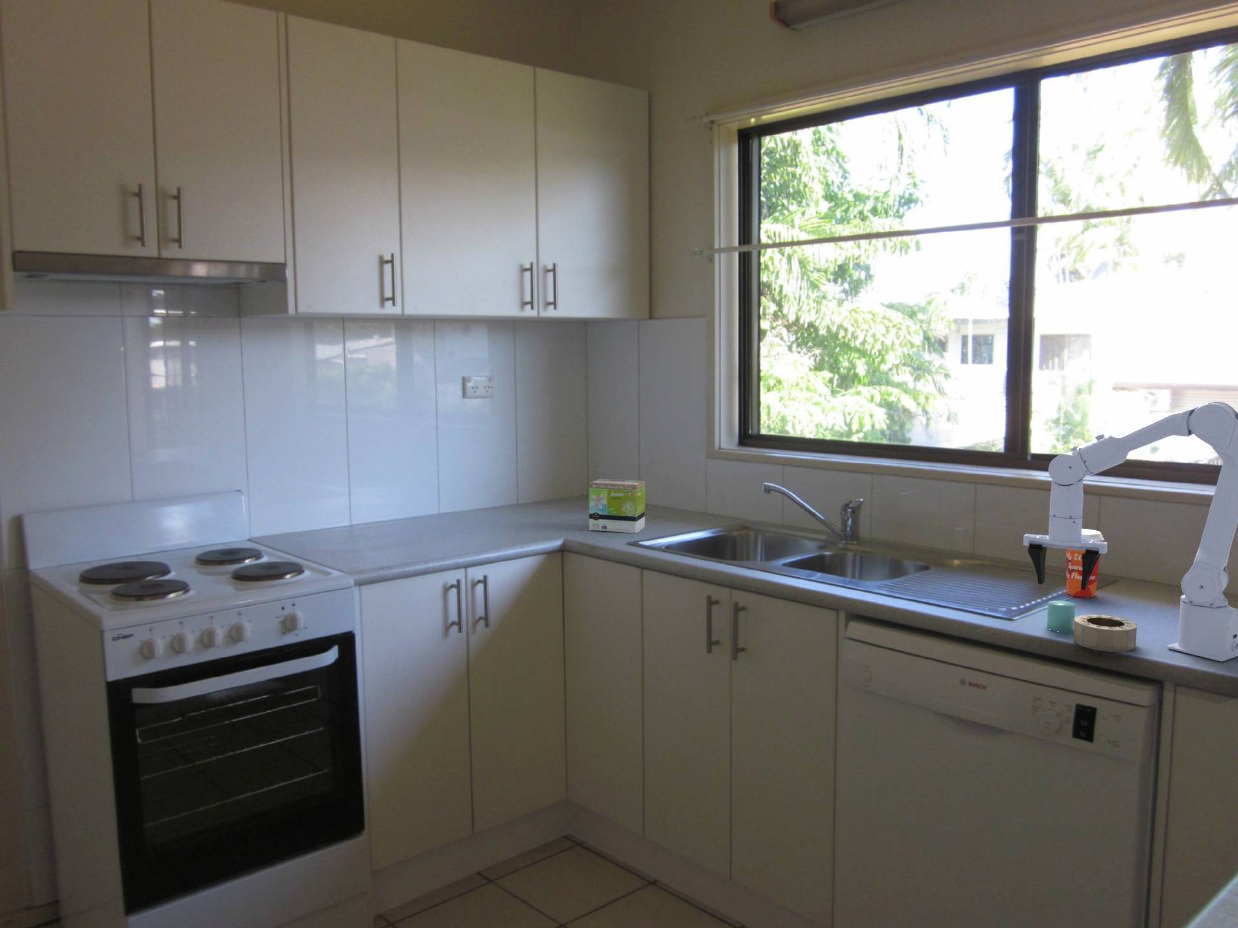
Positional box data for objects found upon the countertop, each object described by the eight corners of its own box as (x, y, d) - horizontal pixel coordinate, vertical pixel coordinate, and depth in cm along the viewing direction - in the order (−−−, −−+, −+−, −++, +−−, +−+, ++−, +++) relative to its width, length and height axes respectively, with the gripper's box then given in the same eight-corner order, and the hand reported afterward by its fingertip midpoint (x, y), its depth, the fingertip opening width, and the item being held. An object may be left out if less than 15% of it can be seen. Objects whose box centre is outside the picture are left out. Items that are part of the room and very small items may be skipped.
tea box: (588, 531, 292) (587, 482, 290) (598, 525, 302) (598, 477, 300) (636, 533, 288) (636, 483, 286) (645, 527, 297) (645, 479, 296)
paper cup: (1055, 594, 215) (1059, 531, 213) (1069, 588, 220) (1072, 526, 219) (1093, 600, 209) (1096, 536, 208) (1106, 594, 215) (1109, 531, 213)
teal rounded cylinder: (1079, 630, 188) (1080, 604, 188) (1064, 634, 186) (1065, 608, 185) (1056, 624, 192) (1057, 599, 192) (1041, 628, 189) (1042, 603, 189)
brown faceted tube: (1146, 645, 178) (1148, 624, 177) (1115, 655, 172) (1116, 633, 172) (1093, 632, 186) (1094, 611, 186) (1062, 641, 181) (1063, 620, 180)
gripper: (1112, 516, 185) (1108, 587, 187) (1031, 509, 194) (1028, 576, 195) (1104, 522, 180) (1100, 594, 181) (1021, 514, 188) (1018, 583, 190)
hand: (1062, 586), depth 188 cm, fingers open, 7 cm apart
